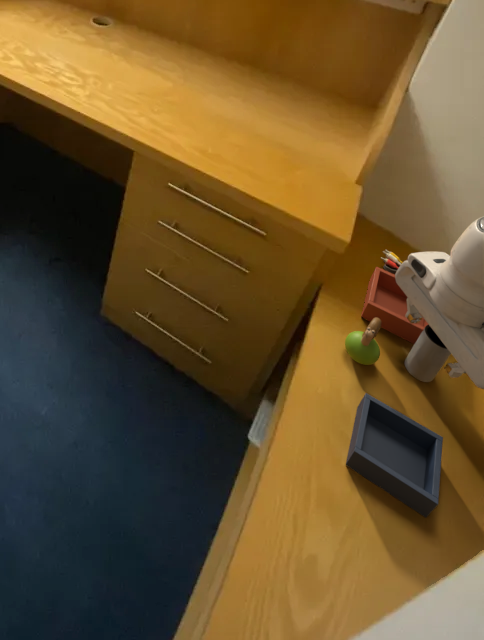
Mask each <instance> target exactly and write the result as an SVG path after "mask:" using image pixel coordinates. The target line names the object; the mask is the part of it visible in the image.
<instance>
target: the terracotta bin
mask: <svg viewBox="0 0 484 640" xmlns="http://www.w3.org/2000/svg"><path fill="white" fill-rule="evenodd" d="M369 280H370V281H368V286H367V289H368V290H367V289H366V293H367V294H366V293H365V298H364V302H365V303H364V302H363V306H364V307H362V310H363V311H362V312H361V314H360V315H361V316H360V318H362V317H363V318H362V319H364V318H365V319H364V320H366V319H367V320H366V321H367V322H369V323H370V322H371V321H372V320H373V319H374V318H375V317H377V318H379V319H380V320H381V327H380V329H383V330H385V331H387V332H389V333H391V334H393V335H395V336H396V337H399V338H401V339H403V340H405V341H407V342H409V343H411V344H412V345H414V344H415V343H416V341H417V339H418V338H419V336H420V335H421V333H422V331H423V330H424V328H425V327H426V326H427V325H428V323H427V322H426V320H425V319H424V318H422V319H421V320H420V322H419V323H413V324H411V323H410V322H409V320H408V319H407V318H406V316H405V315H406V313H407V311H408V310H407V300H406V299H407V298H408V297H407V296H406V295H405V293H404V292H403V291H402V289H401V288H400V287H399V286H398V284H397V283H396V279H395V273H392V272H389V271H387V270H385V269H384V268H380V267H378V266H375V269H374V271H373V273H372V274H371V276H370V279H369ZM420 315H421V314H420ZM421 316H422V315H421Z"/></svg>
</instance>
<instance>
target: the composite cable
mask: <svg viewBox="0 0 484 640" xmlns="http://www.w3.org/2000/svg"><path fill="white" fill-rule="evenodd" d="M382 253H383V254H384V255H385V257H383V256H381V257H380V259H381V260H382V261H383V262H384V265H383V270H385V271H388V272H390V273H392V274H396V272H397V270H398V268H399V267H400V265H401V264H402V263H403V262H404V261H402V260H401V258H400V257H399V256H398V255H396V254H395V253H394V252H392V251H389V250H388V249H385V250H383V251H382ZM390 267H391V268H390Z"/></svg>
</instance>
